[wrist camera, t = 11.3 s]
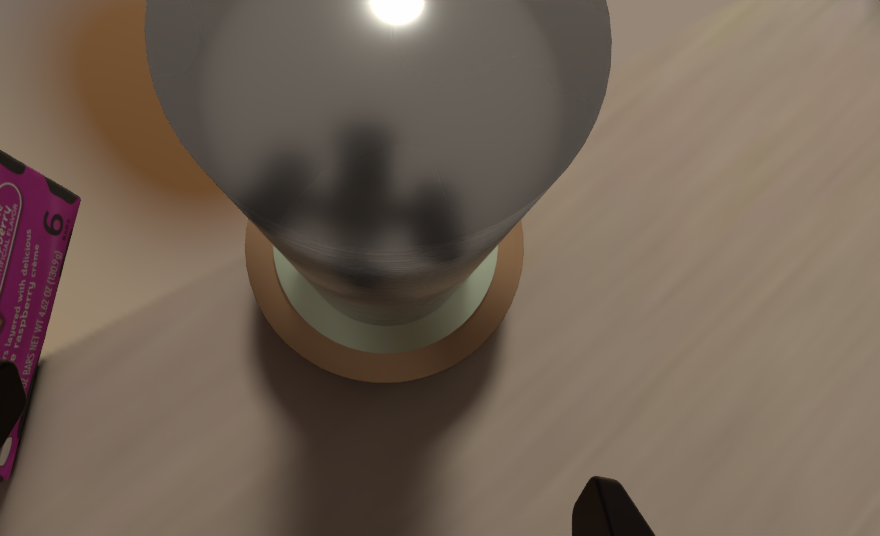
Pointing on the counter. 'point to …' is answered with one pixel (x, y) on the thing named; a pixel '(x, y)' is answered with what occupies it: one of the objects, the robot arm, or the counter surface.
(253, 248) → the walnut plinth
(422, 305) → the grey tin
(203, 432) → the counter surface
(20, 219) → the candy bar box
